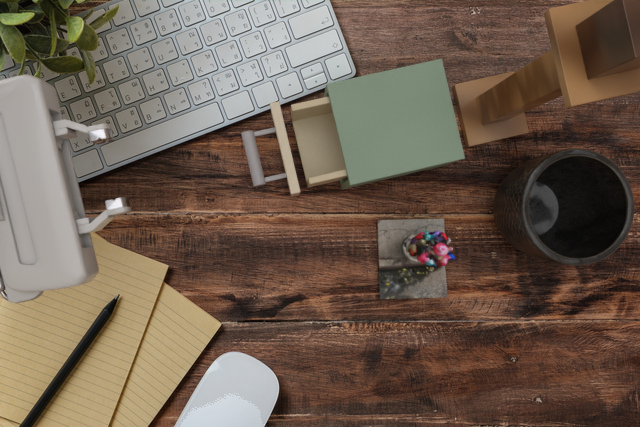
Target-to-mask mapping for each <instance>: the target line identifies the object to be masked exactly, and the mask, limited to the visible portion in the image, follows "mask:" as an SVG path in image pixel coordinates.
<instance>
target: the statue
mask: <svg viewBox="0 0 640 427" xmlns="http://www.w3.org/2000/svg"><path fill="white" fill-rule="evenodd" d="M445 228H446V226H445V218H409V219H408V218H407V219H378V220H376V232H377V233H376V234H377V235H376V237H377V238H376V239H377V259H378V260H377V262H378V266H379V267H378V269H377V275H378V284H379V285H378V286H379V299H380V300H400V299H403V300H406V299H438V298H439V299H441V298H442V299H443V298H448V297H449V296H448V283H447V270H446V265H448V262H449V261H454V260H455V259H456V256H455V254H453V253H452V252H453V251H454V247H453V246H452V245H451V246H450V243H451V242H452V239H451V238H450V237H449V236H447V234H446V229H445Z"/></svg>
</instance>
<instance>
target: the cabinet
mask: <svg viewBox="0 0 640 427" xmlns="http://www.w3.org/2000/svg"><path fill="white" fill-rule="evenodd" d="M328 96H329V100H330V105H331V109H332V113H333V117H334V122H335V126H336V130H337V134H338V139H339V143H340V147H341V151H342V156H343V160H344V164H345V168H346V173H347V177H348V178H347V179H343V180H339V183H340V188H341V190H342V191H343V190H346V189H351V188H356V187H360V186H364V185H368V184H373V183H377V182H382V181H385V180H389V179H394V178H397V177H403V176H406V175H410V174H411V175H412V174H415V173H419V172H424V171H428V170H432V169H436V168H437V169H438V168H441V167H444V166H446V165H450V164H452V163H455V162H459V161H463V160H465V159H466V156H465V152H464V149H463V143H462V139H461V135H460V131H459V125H458V121H457V117H456V113H455V109H454V104H453V100H452V97H451V91H450V88H449V83H448V78H447V74H446V70H445V67H444V62H443V58H439V59H438V58H437V59H433V60H429V61H424V62H420V63H415V64H409V65H406V66H401V67H396V68H392V69H387V70H383V71H378V72H375V73H369V74H364V75H359V76H356V77H352V78H347V79H343V80H337V81H333V82H328V83H326V85H325V88H324V91H323V96H322V98H324V97H328Z"/></svg>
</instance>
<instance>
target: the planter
mask: <svg viewBox="0 0 640 427" xmlns="http://www.w3.org/2000/svg"><path fill="white" fill-rule="evenodd" d="M492 213H493V219H494V224H495V226H496V228H497V230H498V231H499V233H500V235H501V236H502V237H503V238H504V240H505V241H506V242H507V243H508V244H509V245H511V246H512V247H513V248H515V249H516V250H518V251H519V252H521V253H524V254H525V255H528V256H530V257H533V258H536V259H540V260H544V261H547V262H551V263H555V264H559V265H563V266H571V267H572V266H573V267H581V266H589V265H592V264H597V263H599V262H602V261H604V260H605V259H607V258H609V257H610V256H612V255H613V254H614V253H615V252H616V251H617V250H618V249H619V248H620V247H621V246H622V245H623V243H624V242H625V240H626V239H627V237H628V236H629V234H630V232H631V228H632V226H633V222H634V217H635V197H634V193H633V189H632V186H631V184H630V182H629V179H628V177H627V176H626V174H625V173H624V171H623V169H621V168H620V166H618V164H616V163H615V162H614V161H613V160H612V159H610V158H609V157H607V156H605V155H604V154H602V153H600V152H597V151H595V150H591V149H586V148H568V149H567V148H565V149H562V150H557V151H554V152H551V153H548V154H545V155H542V156H539V157H536V158H533V159H531V160H527V162H523V163H522V164H521V165H519V166H517V167H515V168H514V169H512V170H511V171H510V172H509V173H508V174H507V175H506V176H505V177H504V178H503V180H502V181H501V182H500V184H499V185H498V187H497V188H496V191H495V193H494V198H493V202H492Z"/></svg>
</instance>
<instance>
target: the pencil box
mask: <svg viewBox="0 0 640 427" xmlns="http://www.w3.org/2000/svg"><path fill="white" fill-rule="evenodd" d="M576 30H577V35H578V39H579V43H580V48H581V52H582V56H583V61H584V65H585V69H586V74H587V78H588V80H590V79H594V78H598V77H603V76H607V75H612V74H616V73H620V72H625V71H629V70H634V69H638V68H640V0H613V1H612V2H610V3H609V4H607V5H606V6H604V7H603V8H601V9H600V10H598V11H597V12H595V13H594V14H592V15H591V16H589V17H588V18H586V19H585V20H583V21H582V22H580V23H579V24H577V25H576Z"/></svg>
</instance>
